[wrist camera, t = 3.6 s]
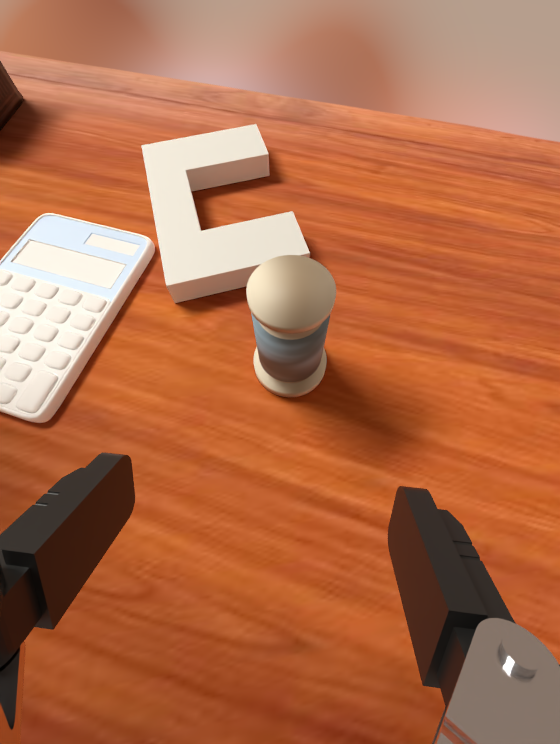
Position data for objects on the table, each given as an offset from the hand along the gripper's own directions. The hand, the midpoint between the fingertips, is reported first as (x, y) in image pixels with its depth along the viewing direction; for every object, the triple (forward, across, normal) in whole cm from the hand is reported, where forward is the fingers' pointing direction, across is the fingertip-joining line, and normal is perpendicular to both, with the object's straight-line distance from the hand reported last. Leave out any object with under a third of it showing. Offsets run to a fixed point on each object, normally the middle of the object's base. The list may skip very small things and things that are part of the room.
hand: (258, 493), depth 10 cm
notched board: (+31, +9, -10) cm, 34 cm away
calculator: (+22, +23, 0) cm, 32 cm away
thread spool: (+19, 0, +2) cm, 19 cm away
